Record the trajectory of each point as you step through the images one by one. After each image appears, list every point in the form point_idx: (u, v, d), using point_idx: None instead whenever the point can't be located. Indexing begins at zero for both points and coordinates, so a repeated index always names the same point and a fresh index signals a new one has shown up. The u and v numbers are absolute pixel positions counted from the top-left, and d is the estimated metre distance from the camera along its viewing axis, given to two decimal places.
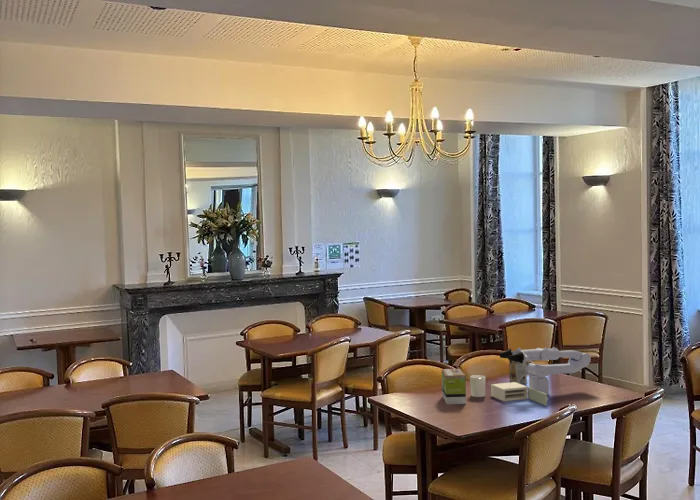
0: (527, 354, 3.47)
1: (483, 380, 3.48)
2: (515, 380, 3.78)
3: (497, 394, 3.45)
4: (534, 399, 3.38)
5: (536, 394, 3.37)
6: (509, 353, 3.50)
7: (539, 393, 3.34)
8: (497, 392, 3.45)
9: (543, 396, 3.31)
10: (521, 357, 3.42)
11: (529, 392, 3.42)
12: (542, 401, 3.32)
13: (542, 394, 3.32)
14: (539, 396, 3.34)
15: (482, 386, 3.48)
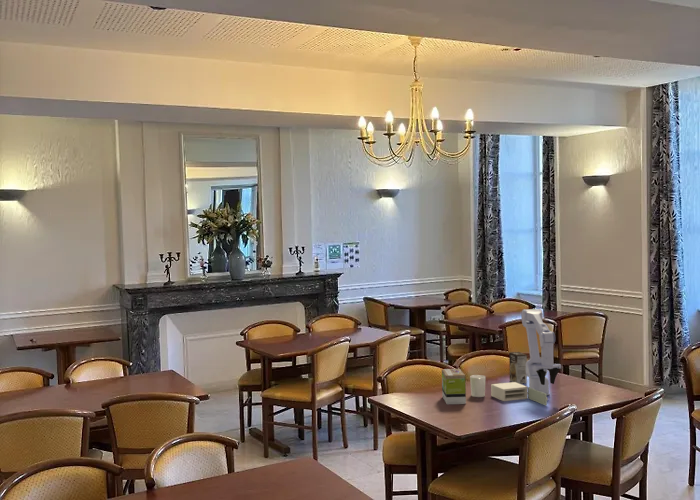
0: None
1: (483, 380, 3.48)
2: (515, 380, 3.78)
3: (497, 394, 3.45)
4: (534, 399, 3.38)
5: (536, 394, 3.37)
6: None
7: (539, 393, 3.34)
8: (497, 392, 3.45)
9: (543, 396, 3.31)
10: None
11: (529, 392, 3.42)
12: (542, 401, 3.32)
13: (542, 394, 3.32)
14: (539, 396, 3.34)
15: (482, 386, 3.48)
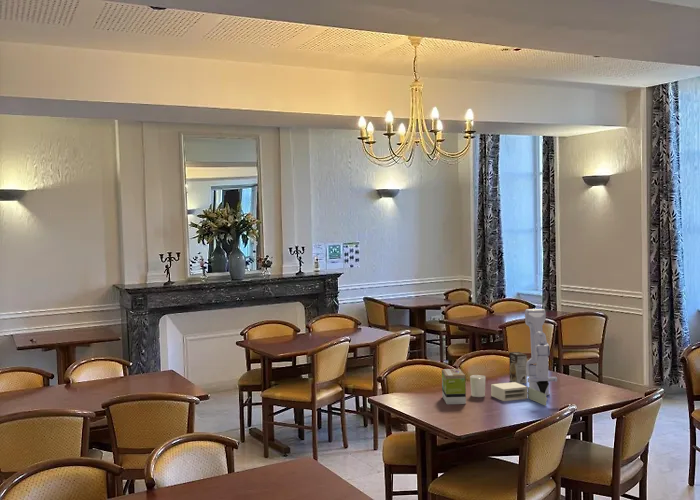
0: None
1: (483, 380, 3.48)
2: (515, 380, 3.78)
3: (497, 394, 3.45)
4: (534, 399, 3.38)
5: (536, 394, 3.37)
6: None
7: (539, 393, 3.34)
8: (497, 392, 3.45)
9: (543, 396, 3.31)
10: None
11: (529, 392, 3.42)
12: (542, 401, 3.32)
13: (542, 394, 3.32)
14: (539, 396, 3.34)
15: (482, 386, 3.48)
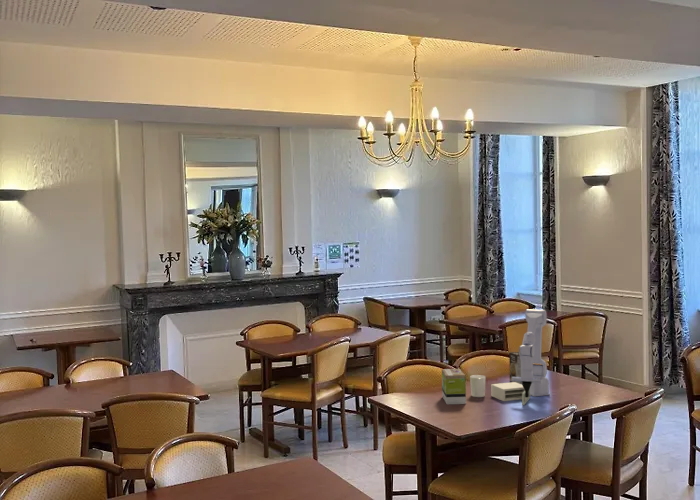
0: (531, 373, 3.32)
1: (483, 380, 3.48)
2: None
3: (497, 394, 3.45)
4: None
5: None
6: None
7: None
8: (497, 392, 3.45)
9: None
10: None
11: None
12: None
13: None
14: None
15: (482, 386, 3.48)
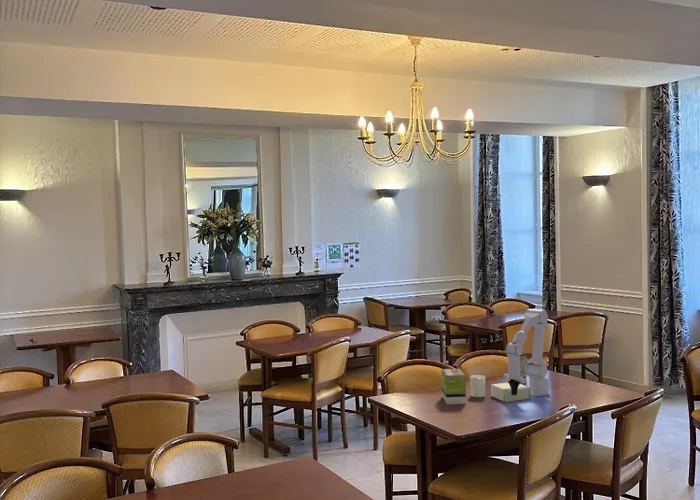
0: (516, 371, 3.35)
1: (483, 380, 3.48)
2: None
3: (497, 394, 3.45)
4: None
5: None
6: None
7: None
8: (497, 392, 3.45)
9: None
10: None
11: None
12: None
13: None
14: None
15: (482, 386, 3.48)
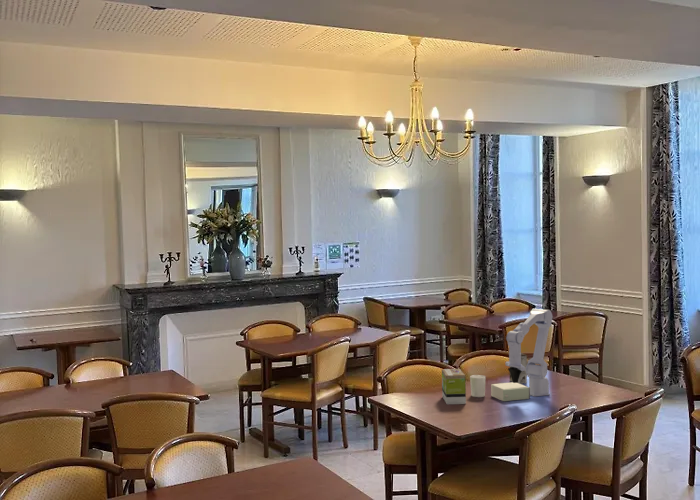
0: (516, 359, 3.36)
1: (483, 380, 3.48)
2: None
3: (497, 394, 3.45)
4: None
5: None
6: None
7: None
8: (497, 392, 3.45)
9: None
10: None
11: None
12: None
13: None
14: None
15: (482, 386, 3.48)
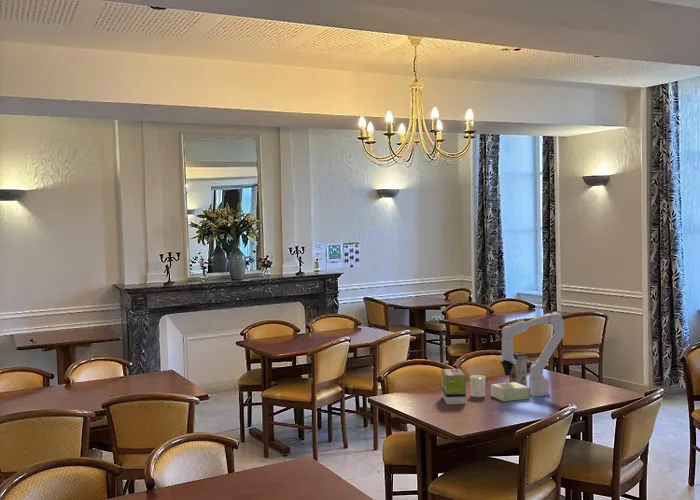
0: (508, 353, 3.53)
1: (483, 380, 3.48)
2: (515, 380, 3.78)
3: (497, 394, 3.45)
4: None
5: None
6: None
7: None
8: (497, 392, 3.45)
9: None
10: (509, 363, 3.54)
11: None
12: None
13: None
14: None
15: (482, 386, 3.48)
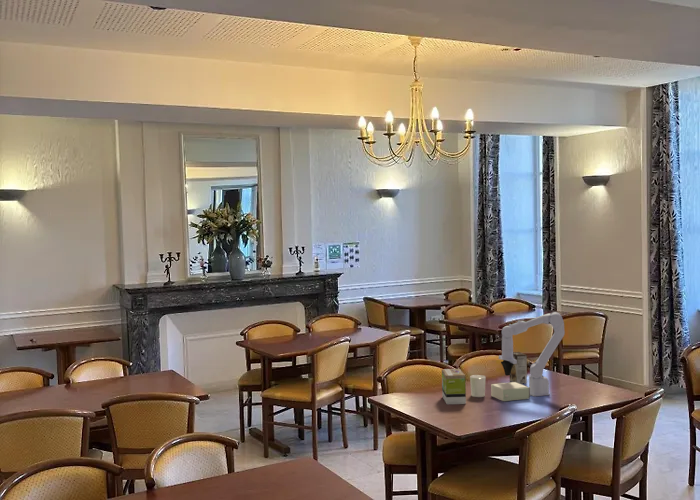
0: (508, 353, 3.53)
1: (483, 380, 3.48)
2: (515, 380, 3.78)
3: (497, 394, 3.45)
4: None
5: None
6: None
7: None
8: (497, 392, 3.45)
9: None
10: (509, 363, 3.54)
11: None
12: None
13: None
14: None
15: (482, 386, 3.48)
